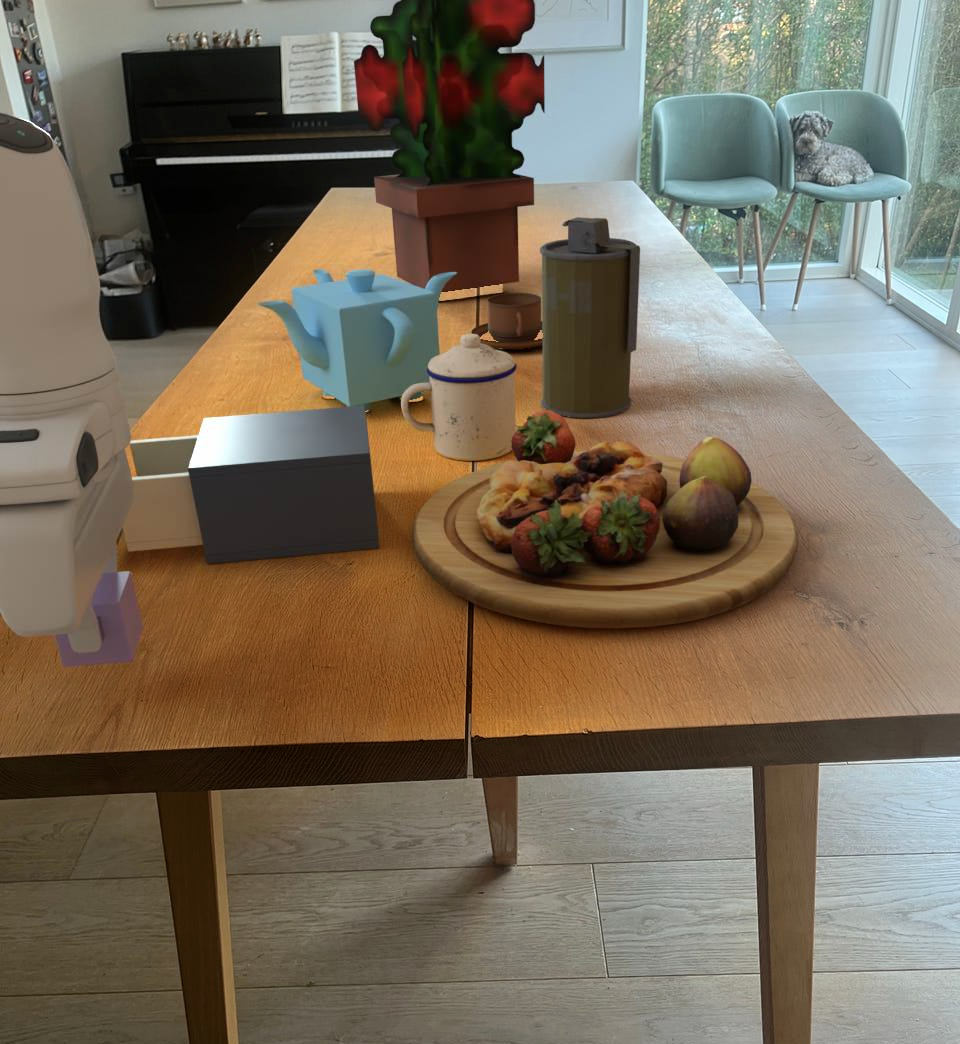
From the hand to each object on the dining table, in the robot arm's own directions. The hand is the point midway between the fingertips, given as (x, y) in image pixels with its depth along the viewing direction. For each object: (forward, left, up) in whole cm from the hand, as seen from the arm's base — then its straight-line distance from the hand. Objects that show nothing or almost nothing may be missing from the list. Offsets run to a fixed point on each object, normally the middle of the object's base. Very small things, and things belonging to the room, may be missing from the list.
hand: (98, 624), depth 67 cm
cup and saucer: (+41, +80, -6) cm, 90 cm away
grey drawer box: (+12, +25, -5) cm, 28 cm away
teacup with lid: (+29, +41, -6) cm, 50 cm away
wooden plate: (+38, +16, -6) cm, 41 cm away
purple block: (0, 0, -2) cm, 2 cm away
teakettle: (+20, +62, -6) cm, 65 cm away
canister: (+45, +52, -6) cm, 69 cm away
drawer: (0, +25, -4) cm, 25 cm away
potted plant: (+37, +116, -6) cm, 122 cm away
